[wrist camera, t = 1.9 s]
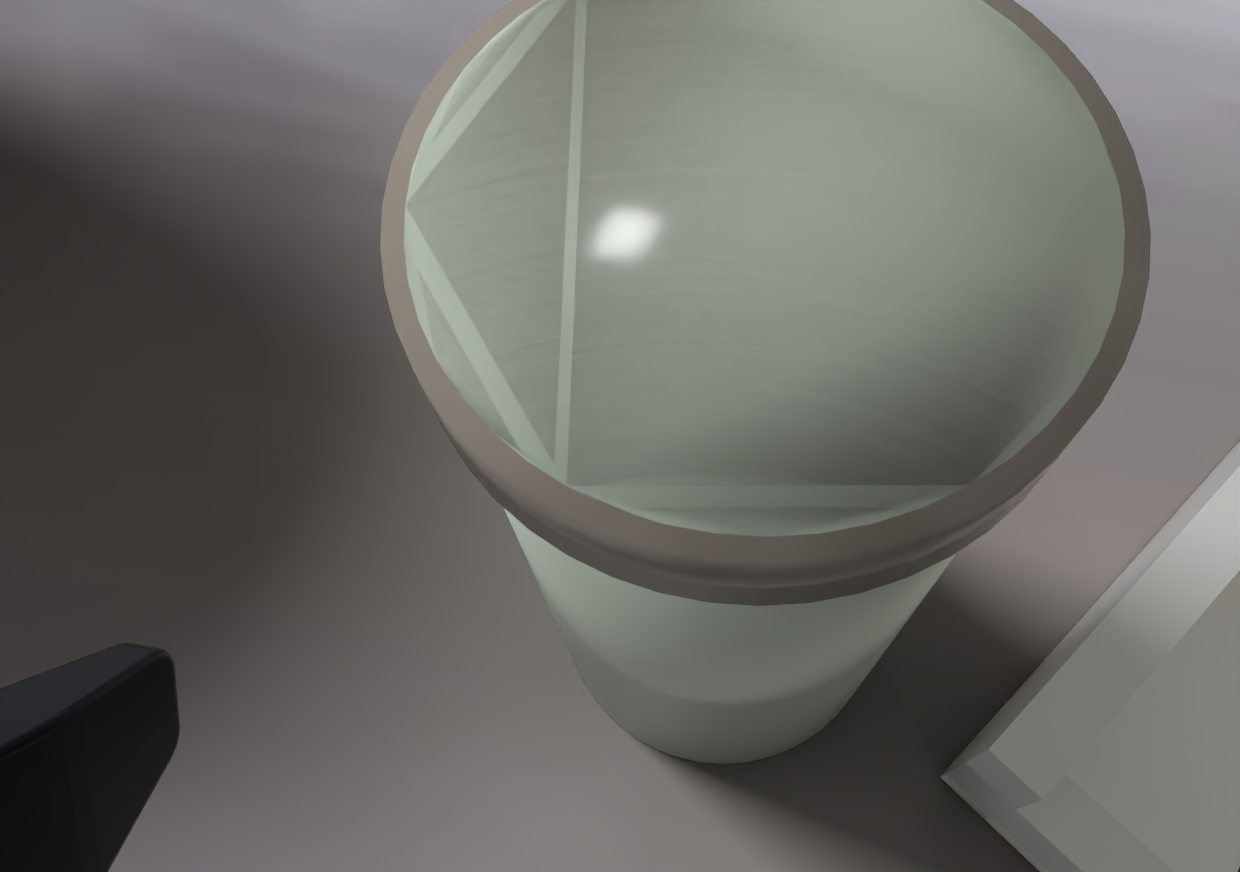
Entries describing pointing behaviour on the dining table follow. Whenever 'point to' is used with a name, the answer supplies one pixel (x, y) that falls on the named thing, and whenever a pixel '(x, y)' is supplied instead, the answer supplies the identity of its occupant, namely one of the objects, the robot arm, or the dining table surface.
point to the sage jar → (758, 322)
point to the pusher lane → (1131, 714)
